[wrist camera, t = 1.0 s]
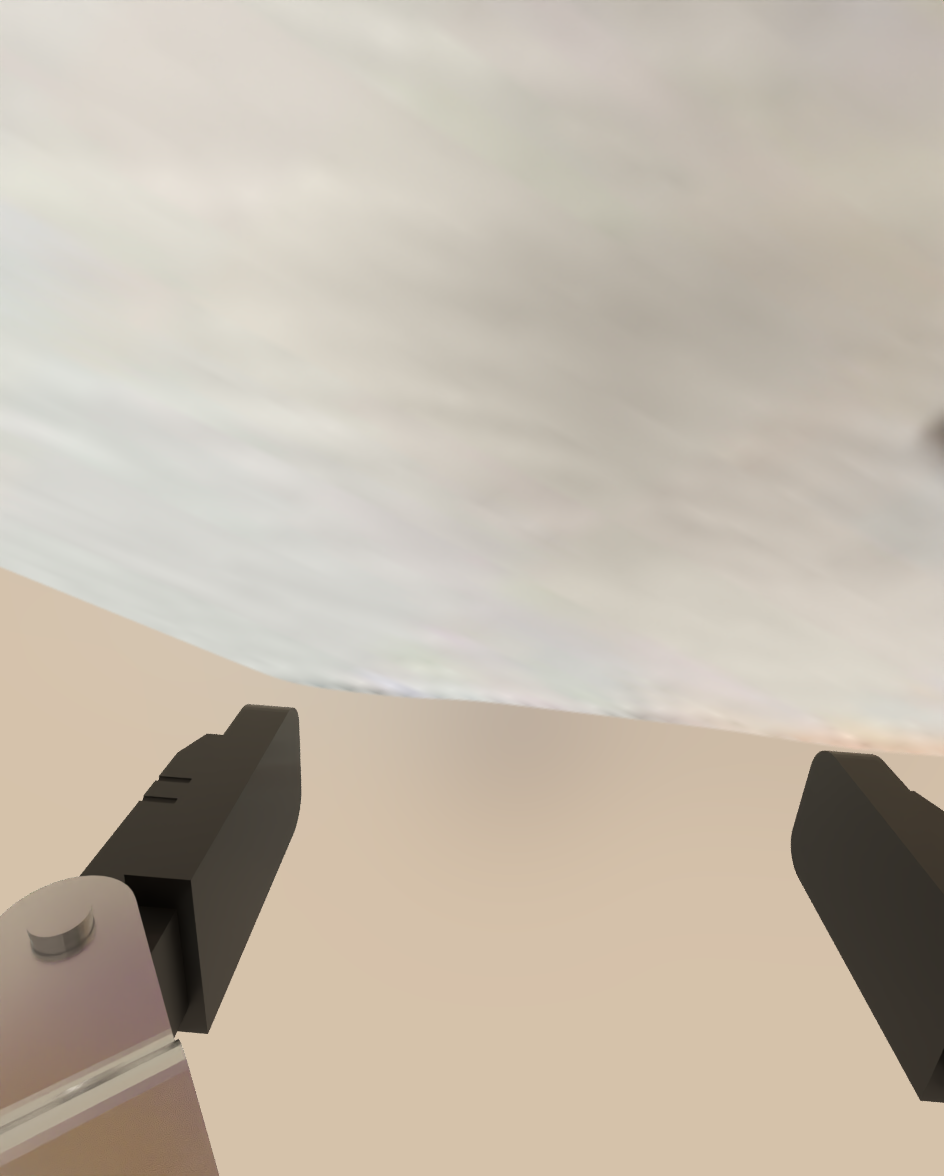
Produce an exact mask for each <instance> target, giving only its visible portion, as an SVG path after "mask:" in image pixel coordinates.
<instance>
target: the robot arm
mask: <svg viewBox="0 0 944 1176" xmlns="http://www.w3.org/2000/svg"><path fill="white" fill-rule="evenodd" d="M300 804H301V767H300V736H299V717H298V713H297V710H296V709H295V708H289V707H277V706H264V705H251V704H247V705H245V706H244V707H243V708H242V709H241V711H240V712H239V714H238V715H237V716H236V718H235V719H234V721H233V722H232V723H231V725H230V726H229V728H228V729H227V730H226V732H225V733H224V735H217V734H206V735H204V736H203V737H201V738H200V739H198V740H196V741H195V742H193V743H192V744H190V745H189V746H187V747H186V748H184V749H182V750H181V751H179V752H178V753H177V754H176V755H175V757H174V758H173V759H172V760H171V762H170V763H169V764H168V765H167V767H166V768H165V769H164V770H163V772H162V773H161V774H160V775H159V780H158V781H155V782H154V783H153V784H152V786H151V787H150V788H149V789H148V791H147V792H146V793H145V794H144V798H143V801H139V802H138V803H137V805H136V806H135V807H134V808H133V810H132V811H131V812H130V813H129V815H128V816H127V817H126V819H125V820H124V821H123V822H122V823H121V825H120V826H119V827H118V828H117V830H116V831H115V832H114V834H113V835H112V836H111V837H110V839H109V840H108V841H107V842H106V844H105V845H104V846H103V847H102V849H101V850H100V851H99V852H98V854H97V855H96V856H95V857H94V859H93V860H92V861H91V863H90V864H89V865H88V866H87V868H86V869H85V870H84V871H83V873H82V874H81V875H80V876H79V877H74V878H69V879H65V880H62V881H58V882H55V883H52V884H50V885H47V886H45V887H42V888H40V889H38V890H36V891H34V892H33V893H30V894H29V895H27V896H26V897H24V898H22V899H21V900H19V901H18V902H16V903H15V904H14V905H13V906H11V907H10V908H9V909H7V911H5V912H4V913H3V914H2V915H1V916H0V1176H219V1174H218V1170H217V1166H216V1163H215V1159H214V1156H213V1152H212V1148H211V1145H210V1141H209V1138H208V1134H207V1131H206V1128H205V1124H204V1120H203V1116H202V1113H201V1109H200V1106H199V1102H198V1099H197V1095H196V1091H195V1088H194V1084H193V1081H192V1077H191V1074H190V1070H189V1067H188V1063H187V1060H186V1057H185V1053H184V1050H183V1048H182V1045H181V1043H180V1041H179V1039H178V1040H176V1041H175V1040H174V1037H175V1035H176V1033H177V1031H182V1032H193V1033H204V1034H208V1032H209V1030H210V1028H211V1025H212V1023H213V1021H214V1018H215V1016H216V1014H217V1011H218V1009H219V1007H220V1004H221V1002H222V999H223V997H224V995H225V992H226V990H227V988H228V985H229V983H230V981H231V978H232V976H233V974H234V971H235V969H236V967H237V964H238V962H239V960H240V957H241V955H242V953H243V950H244V948H245V946H246V943H247V941H248V939H249V936H250V934H251V932H252V929H253V927H254V925H255V922H256V920H257V918H258V915H259V913H260V911H261V908H262V906H263V904H264V901H265V899H266V897H267V894H268V892H269V890H270V887H271V885H272V882H273V880H274V878H275V876H276V873H277V871H278V869H279V866H280V864H281V862H282V859H283V857H284V855H285V852H286V850H287V847H288V845H289V843H290V840H291V838H292V836H293V833H294V831H295V828H296V824H297V820H298V816H299V810H300ZM791 854H792V860H793V865H794V868H795V871H796V874H797V876H798V878H799V880H800V882H801V883H802V885H803V887H804V889H805V891H806V893H807V894H808V896H809V898H810V900H811V902H812V903H813V905H814V907H815V909H816V911H817V913H818V914H819V916H820V918H821V920H822V922H823V924H824V925H825V927H826V929H827V931H828V932H829V935H830V936H831V938H832V940H833V941H834V944H835V945H836V947H837V949H838V951H839V953H840V955H841V956H842V958H843V960H844V962H845V964H846V966H847V967H848V969H849V971H850V973H851V974H852V976H853V978H854V980H855V982H856V984H857V986H858V987H859V989H860V991H861V993H862V995H863V997H864V998H865V1000H866V1002H867V1004H868V1005H869V1008H870V1009H871V1011H872V1013H873V1015H874V1017H875V1019H876V1020H877V1022H878V1024H879V1026H880V1028H881V1029H882V1031H883V1033H884V1035H885V1037H886V1038H887V1040H888V1042H889V1044H890V1046H891V1048H892V1050H893V1051H894V1053H895V1055H896V1057H897V1059H898V1060H899V1062H900V1064H901V1066H902V1068H903V1070H904V1071H905V1073H906V1075H907V1077H908V1079H909V1081H910V1082H911V1084H912V1086H913V1088H914V1090H915V1092H916V1093H917V1095H918V1097H919V1099H920V1100H921V1101H931V1102H943V1103H944V811H943V810H941V809H940V808H938V807H937V806H935V805H934V804H932V803H931V802H929V801H928V800H926V799H925V798H924V797H922V796H921V795H919V794H918V793H916V792H915V791H910V790H909V789H908V788H907V787H906V786H905V785H904V783H903V782H902V781H901V780H900V779H899V778H898V777H897V776H896V775H895V774H894V772H893V771H892V770H891V769H890V768H889V767H888V766H887V765H886V763H885V762H884V761H883V760H882V759H880V758H879V757H878V756H876V755H873V754H861V753H848V752H835V751H821V752H819V753H818V754H817V755H816V756H815V757H814V759H813V761H812V764H811V767H810V771H809V774H808V778H807V781H806V785H805V788H804V792H803V795H802V799H801V802H800V806H799V809H798V813H797V816H796V820H795V823H794V827H793V831H792V836H791Z"/></svg>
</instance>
